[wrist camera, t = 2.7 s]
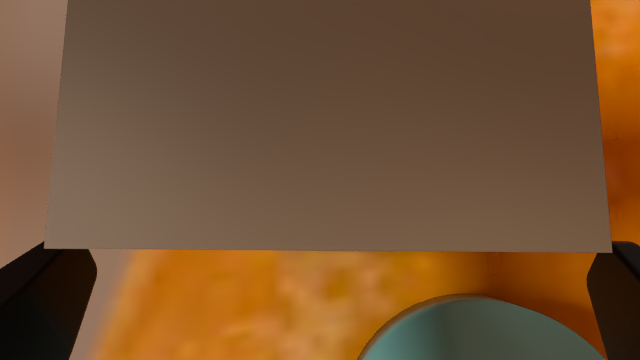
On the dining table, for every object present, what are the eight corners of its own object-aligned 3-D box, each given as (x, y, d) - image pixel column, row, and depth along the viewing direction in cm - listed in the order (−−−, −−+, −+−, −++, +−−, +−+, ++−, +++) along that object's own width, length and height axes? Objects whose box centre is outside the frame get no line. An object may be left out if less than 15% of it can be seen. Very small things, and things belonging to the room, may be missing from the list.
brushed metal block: (415, 249, 17) (611, 252, 4) (273, 248, 17) (43, 248, 4) (412, 130, 18) (573, -188, 5) (275, 131, 18) (84, -158, 5)
